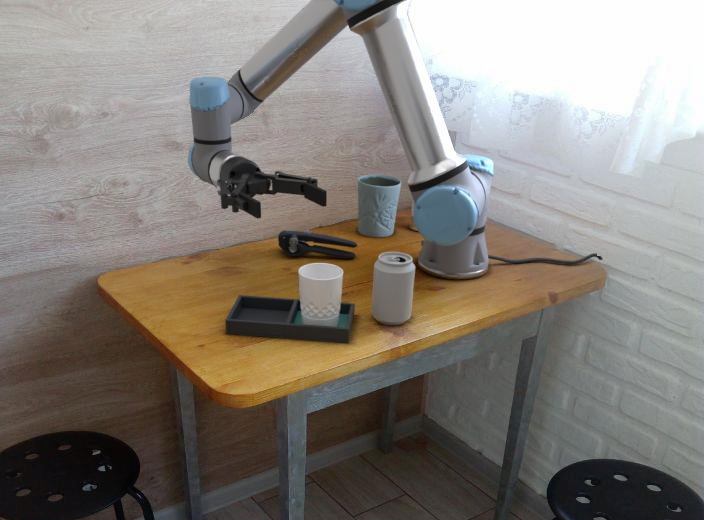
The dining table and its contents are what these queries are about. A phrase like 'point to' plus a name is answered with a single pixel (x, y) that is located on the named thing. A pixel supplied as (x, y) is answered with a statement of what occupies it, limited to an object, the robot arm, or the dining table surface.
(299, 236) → the can opener
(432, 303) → the dining table surface
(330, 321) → the white cup
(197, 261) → the dining table surface
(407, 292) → the can
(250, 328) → the divided tray
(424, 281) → the dining table surface
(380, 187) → the embossed blue cup
